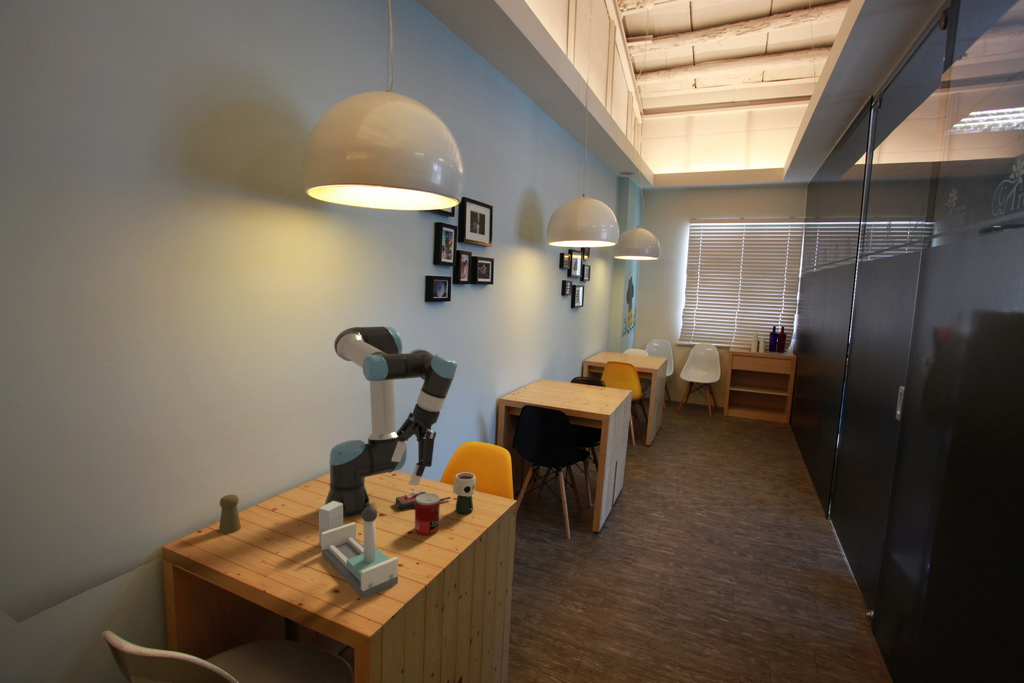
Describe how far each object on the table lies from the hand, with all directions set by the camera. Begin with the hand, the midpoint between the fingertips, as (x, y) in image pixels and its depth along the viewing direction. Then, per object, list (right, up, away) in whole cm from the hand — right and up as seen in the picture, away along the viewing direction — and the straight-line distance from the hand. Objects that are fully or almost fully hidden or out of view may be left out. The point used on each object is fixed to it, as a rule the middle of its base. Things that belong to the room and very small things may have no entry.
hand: (404, 472), depth 141 cm
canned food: (+4, -24, +16) cm, 29 cm away
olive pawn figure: (-58, -21, +11) cm, 63 cm away
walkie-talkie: (-1, -22, +35) cm, 42 cm away
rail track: (-11, -25, -7) cm, 28 cm away
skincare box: (-24, -23, +6) cm, 34 cm away
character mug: (+15, -22, +30) cm, 41 cm away
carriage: (-7, -22, -12) cm, 26 cm away
